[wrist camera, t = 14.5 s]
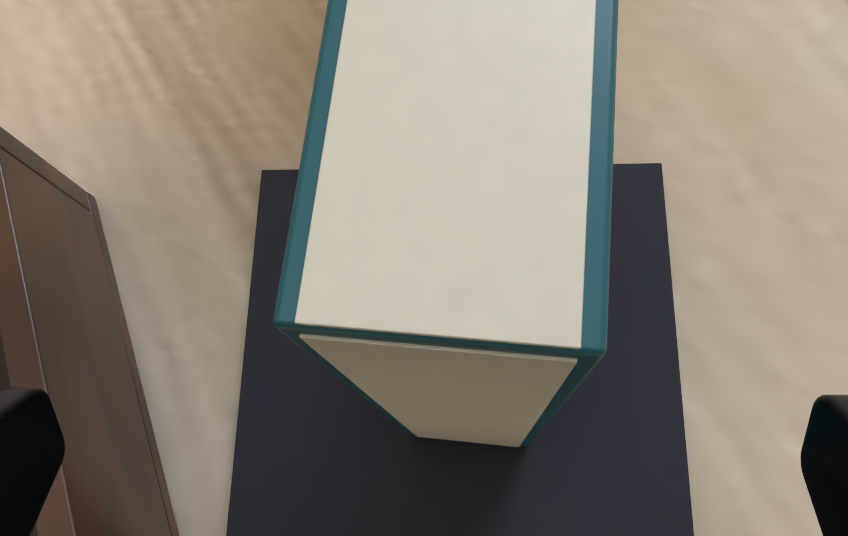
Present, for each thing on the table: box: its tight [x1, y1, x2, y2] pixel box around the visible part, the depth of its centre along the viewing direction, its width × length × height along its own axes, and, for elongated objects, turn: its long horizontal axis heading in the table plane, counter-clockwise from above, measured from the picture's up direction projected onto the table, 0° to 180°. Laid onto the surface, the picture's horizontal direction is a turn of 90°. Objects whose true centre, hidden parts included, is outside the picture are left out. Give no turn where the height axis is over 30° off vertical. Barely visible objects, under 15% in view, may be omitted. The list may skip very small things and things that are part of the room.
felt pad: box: [227, 163, 694, 536], centre depth 19 cm, size 20×12×1 cm, turn 179°
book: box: [273, 0, 618, 447], centre depth 14 cm, size 7×3×13 cm, turn 174°
